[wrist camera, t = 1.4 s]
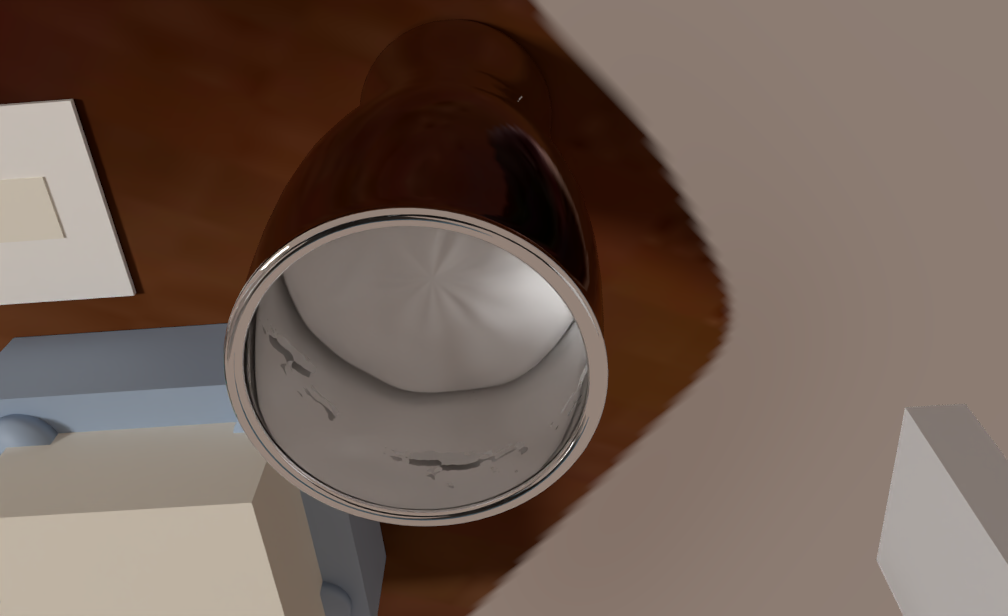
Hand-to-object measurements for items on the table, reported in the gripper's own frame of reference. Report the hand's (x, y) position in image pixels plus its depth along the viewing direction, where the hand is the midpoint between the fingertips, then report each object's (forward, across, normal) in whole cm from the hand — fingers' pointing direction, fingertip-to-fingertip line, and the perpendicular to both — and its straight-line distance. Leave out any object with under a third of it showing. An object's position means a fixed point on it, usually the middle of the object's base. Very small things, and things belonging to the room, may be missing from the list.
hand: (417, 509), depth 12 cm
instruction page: (+18, -18, -2) cm, 25 cm away
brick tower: (+18, -12, -13) cm, 25 cm away
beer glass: (+18, 0, 0) cm, 18 cm away
